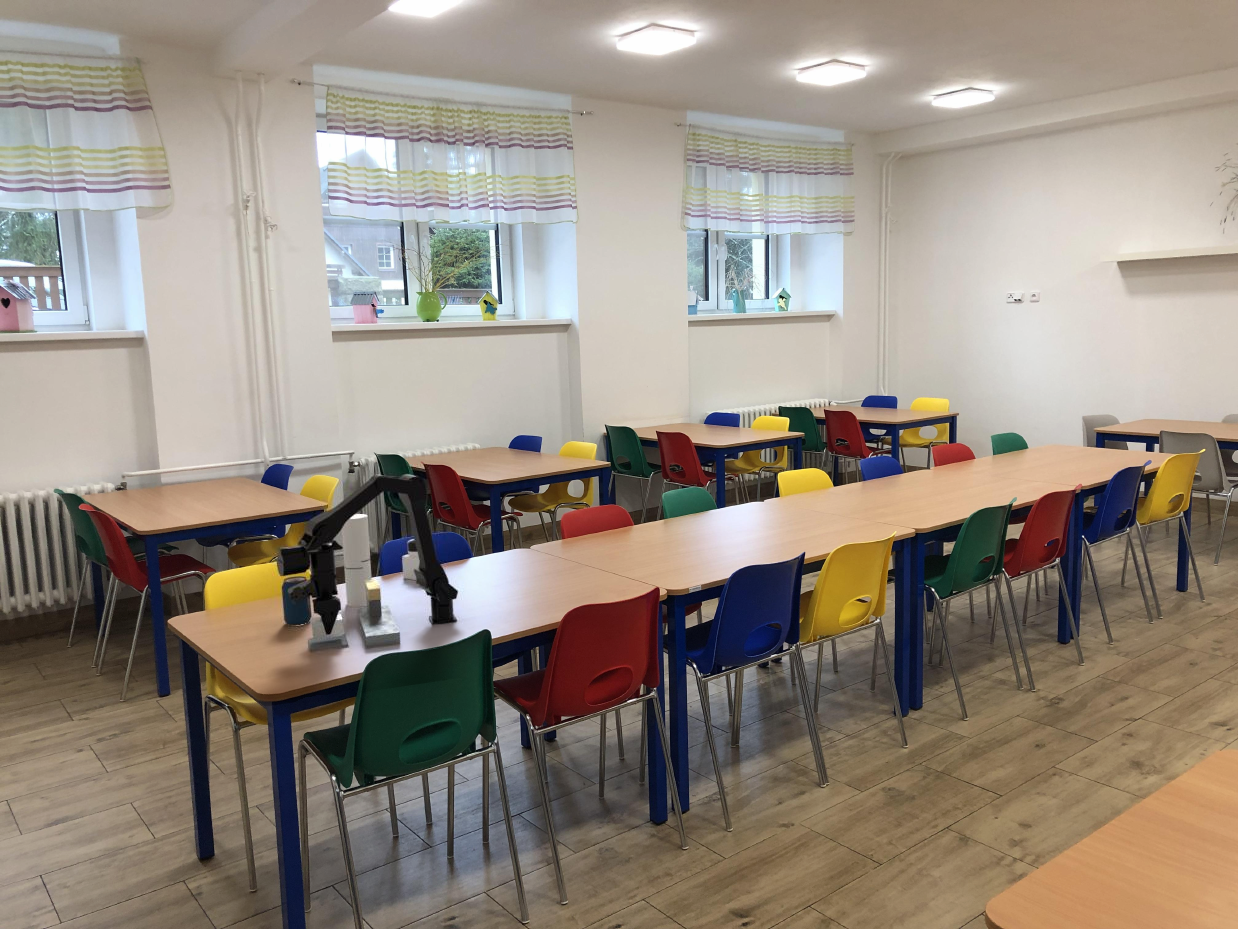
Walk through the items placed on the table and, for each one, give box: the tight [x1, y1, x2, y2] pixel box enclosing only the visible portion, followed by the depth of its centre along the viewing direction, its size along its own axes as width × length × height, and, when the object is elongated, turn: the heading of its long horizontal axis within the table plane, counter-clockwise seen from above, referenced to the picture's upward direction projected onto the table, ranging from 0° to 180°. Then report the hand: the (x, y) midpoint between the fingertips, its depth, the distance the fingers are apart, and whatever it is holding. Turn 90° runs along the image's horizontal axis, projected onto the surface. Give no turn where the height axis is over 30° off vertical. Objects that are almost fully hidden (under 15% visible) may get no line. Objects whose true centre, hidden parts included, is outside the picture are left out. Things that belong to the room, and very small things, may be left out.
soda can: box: [281, 575, 313, 626], centre depth 253 cm, size 7×7×12 cm
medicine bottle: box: [401, 538, 420, 581], centre depth 299 cm, size 7×7×12 cm
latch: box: [365, 579, 382, 601], centre depth 251 cm, size 10×3×3 cm, turn 20°
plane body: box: [356, 594, 401, 649], centre depth 244 cm, size 26×8×7 cm, turn 20°
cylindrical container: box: [341, 513, 373, 608], centre depth 270 cm, size 7×7×25 cm
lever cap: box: [311, 613, 344, 639], centre depth 235 cm, size 5×7×4 cm
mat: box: [307, 633, 350, 652], centre depth 235 cm, size 9×9×1 cm
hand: (327, 631), depth 235 cm, fingers closed on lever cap, 5 cm apart
